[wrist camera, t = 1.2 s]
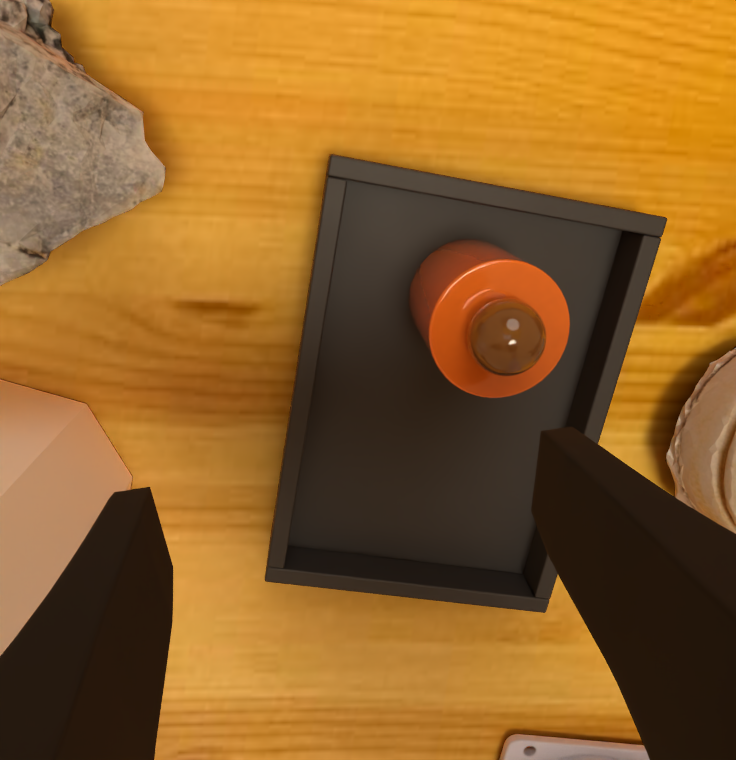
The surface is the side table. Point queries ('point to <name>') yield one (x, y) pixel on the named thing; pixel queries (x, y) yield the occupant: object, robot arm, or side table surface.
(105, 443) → the mug
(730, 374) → the figurine
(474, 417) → the tray
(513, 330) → the orange cylinder with knob
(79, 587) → the robot arm
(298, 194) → the side table surface
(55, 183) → the mineral specimen
